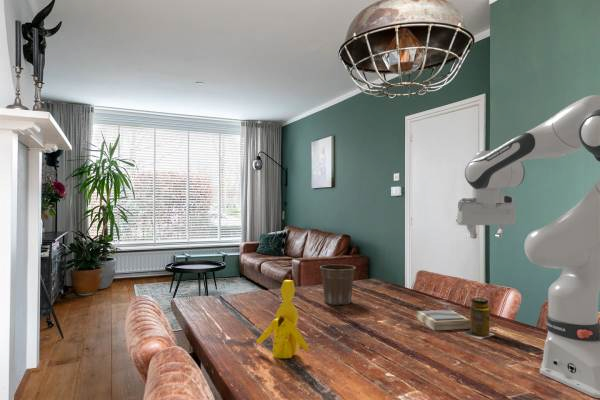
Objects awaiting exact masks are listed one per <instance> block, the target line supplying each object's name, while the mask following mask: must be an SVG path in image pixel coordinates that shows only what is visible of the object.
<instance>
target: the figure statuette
mask: <svg viewBox="0 0 600 400" xmlns="http://www.w3.org/2000/svg"><path fill="white" fill-rule="evenodd" d="M281 284H282V285H281V287H280V293H281V297H282V304H281V305H280V306H279V307H278V308H277V311H276V313H275V316H276V317H275V319H273V320H272V321H271V323H270V325H269V326H268V327H267V328H266V329H265V330H264V331H263V332H262V334H261V335H260V336H259V337H258V339H257V340H256V341H255V343H257V344H259V345H261V344H262V343H263V342H264V341H266V339H267V338H268V337H269V336H271V335H272V333H273V345H272V357H273V358H275V359H282V360H283V359H291V358H292V357H293V356H295V355H296V354H298V352H299V350H300V347H301V348H302V349H303V350H304V351H305V352H306V353H307V352H309V351H310V349H309V347H308V345H307V343H306V341H305V339H304V338H303V336H302V334H301V333H300V331H299V329H298V327H297V326H298V321H299V311H298V309H297V307H296V306H295V304H294V303H293V299H294V296H295V293H296V287H295V282H294V280H291V279H285V280H283V281H282V283H281Z"/></svg>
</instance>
